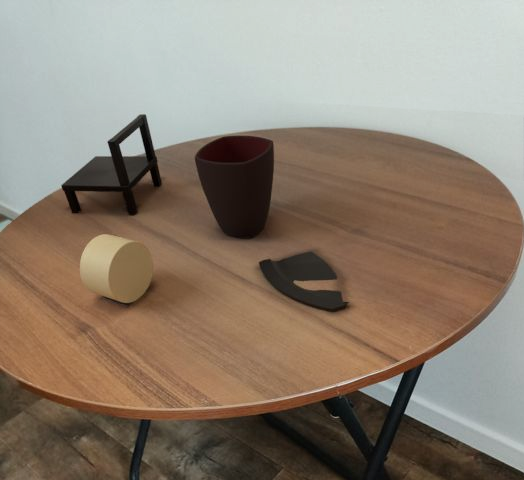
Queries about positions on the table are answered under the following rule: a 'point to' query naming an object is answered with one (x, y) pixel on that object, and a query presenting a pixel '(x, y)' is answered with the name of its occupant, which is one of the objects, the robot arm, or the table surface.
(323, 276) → the fan shaped piece
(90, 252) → the short beige cylinder
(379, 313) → the table surface
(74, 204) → the chair
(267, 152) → the cup
